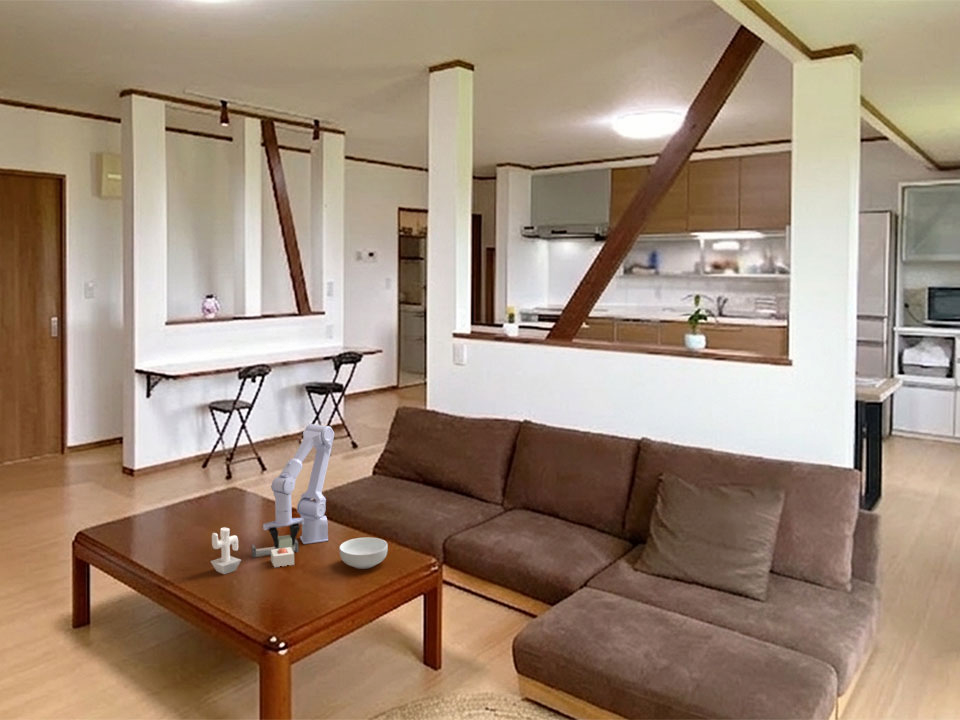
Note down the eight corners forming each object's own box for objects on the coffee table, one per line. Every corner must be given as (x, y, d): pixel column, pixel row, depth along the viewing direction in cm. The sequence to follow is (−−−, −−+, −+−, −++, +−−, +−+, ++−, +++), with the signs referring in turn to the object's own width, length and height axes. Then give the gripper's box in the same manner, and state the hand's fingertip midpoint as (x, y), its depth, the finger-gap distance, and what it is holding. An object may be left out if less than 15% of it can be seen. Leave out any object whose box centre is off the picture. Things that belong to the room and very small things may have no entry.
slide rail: (296, 548, 288) (296, 539, 288) (298, 551, 284) (298, 542, 284) (251, 554, 282) (251, 544, 281) (253, 558, 278) (253, 548, 278)
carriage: (290, 548, 287) (289, 534, 287) (292, 552, 283) (291, 539, 282) (277, 549, 286) (277, 536, 285) (279, 554, 281) (279, 540, 281)
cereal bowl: (341, 556, 280) (341, 537, 279) (387, 555, 282) (387, 536, 281) (338, 575, 263) (337, 554, 262) (387, 573, 265) (387, 553, 264)
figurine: (244, 569, 268) (243, 527, 266) (220, 577, 260) (219, 534, 258) (231, 564, 272) (230, 522, 270) (207, 572, 264) (206, 530, 263)
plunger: (286, 559, 276) (285, 547, 275) (287, 562, 273) (287, 550, 273) (277, 560, 274) (277, 549, 274) (279, 563, 272) (278, 551, 271)
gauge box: (291, 557, 278) (290, 547, 278) (294, 564, 272) (294, 553, 271) (271, 560, 276) (270, 549, 275) (273, 567, 269) (273, 556, 269)
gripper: (299, 503, 290) (300, 539, 291) (260, 509, 282) (261, 545, 284) (305, 508, 284) (306, 544, 285) (265, 514, 276) (266, 551, 278)
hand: (284, 545), depth 284 cm, fingers open, 5 cm apart
